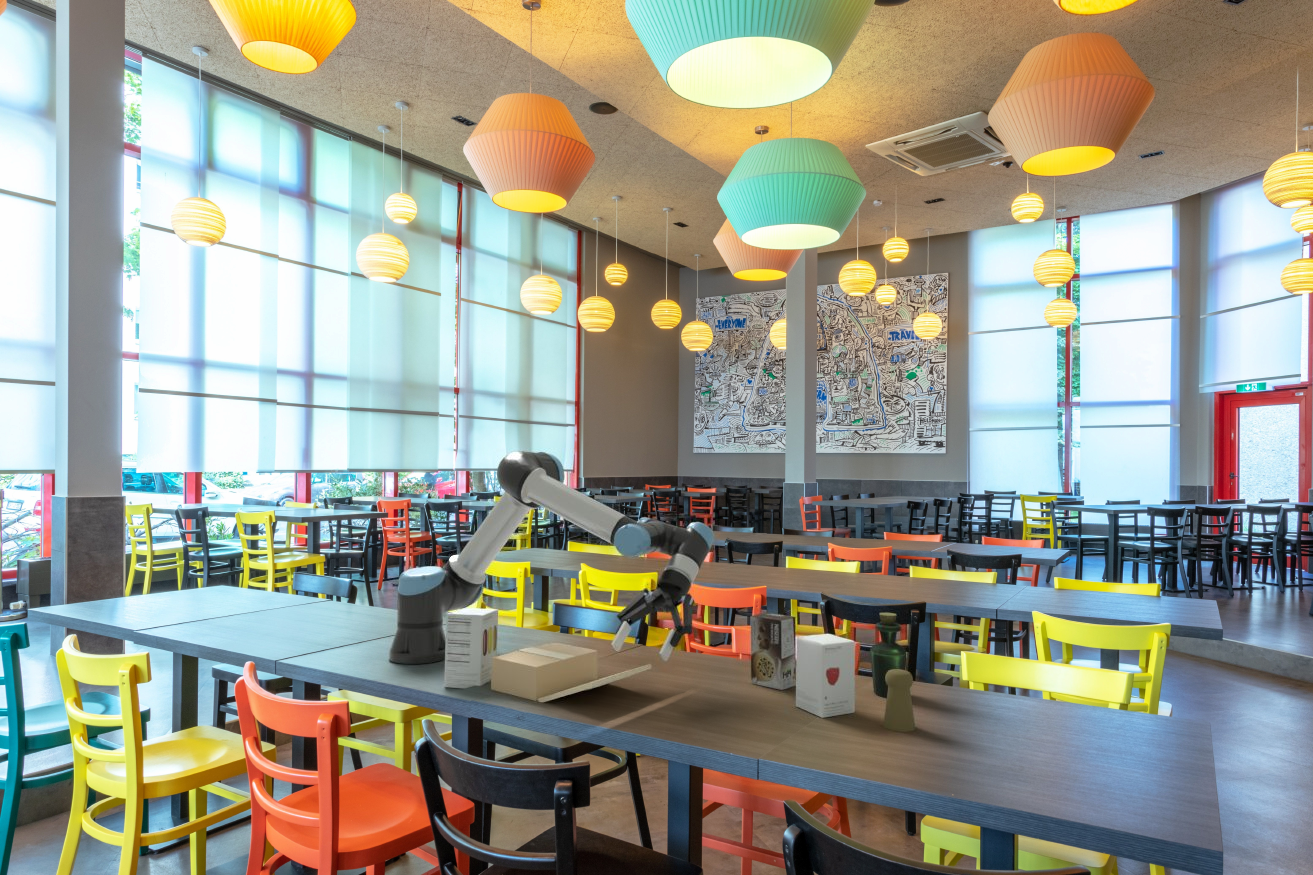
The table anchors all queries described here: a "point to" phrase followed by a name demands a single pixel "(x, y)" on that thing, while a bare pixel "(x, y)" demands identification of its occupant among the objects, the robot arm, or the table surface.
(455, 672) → the supplement box
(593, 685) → the carton flap
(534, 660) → the carton
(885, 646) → the potion bottle
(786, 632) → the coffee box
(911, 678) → the olive pawn
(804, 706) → the supplement box
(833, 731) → the table surface
